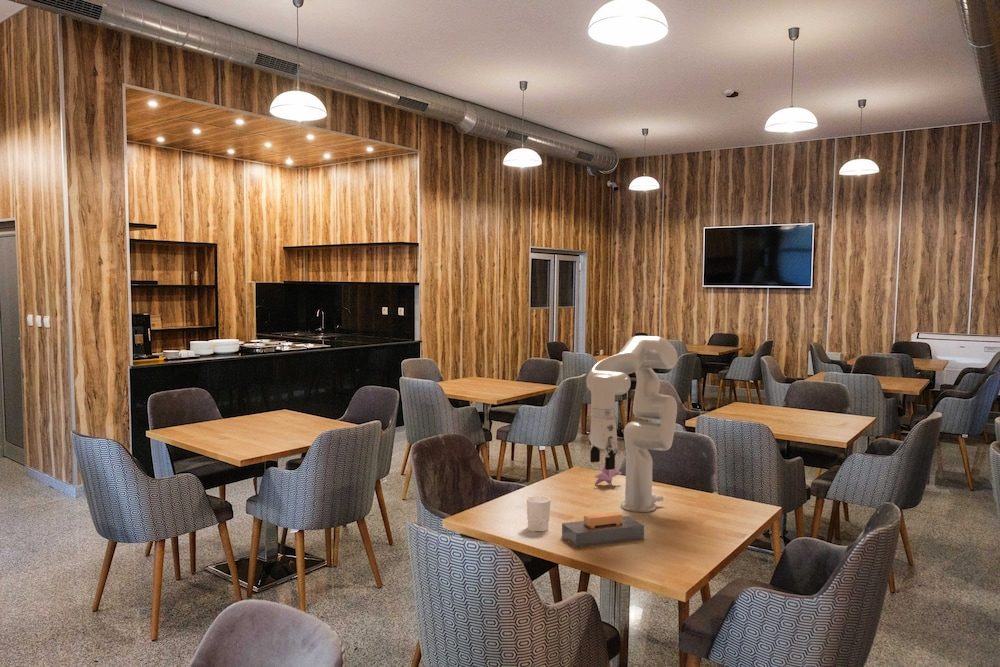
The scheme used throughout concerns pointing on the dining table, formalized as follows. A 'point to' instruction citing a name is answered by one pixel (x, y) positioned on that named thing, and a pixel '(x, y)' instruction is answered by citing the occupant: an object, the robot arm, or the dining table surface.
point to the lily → (607, 475)
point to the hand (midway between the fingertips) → (602, 465)
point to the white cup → (538, 513)
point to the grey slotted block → (602, 532)
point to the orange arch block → (603, 519)
